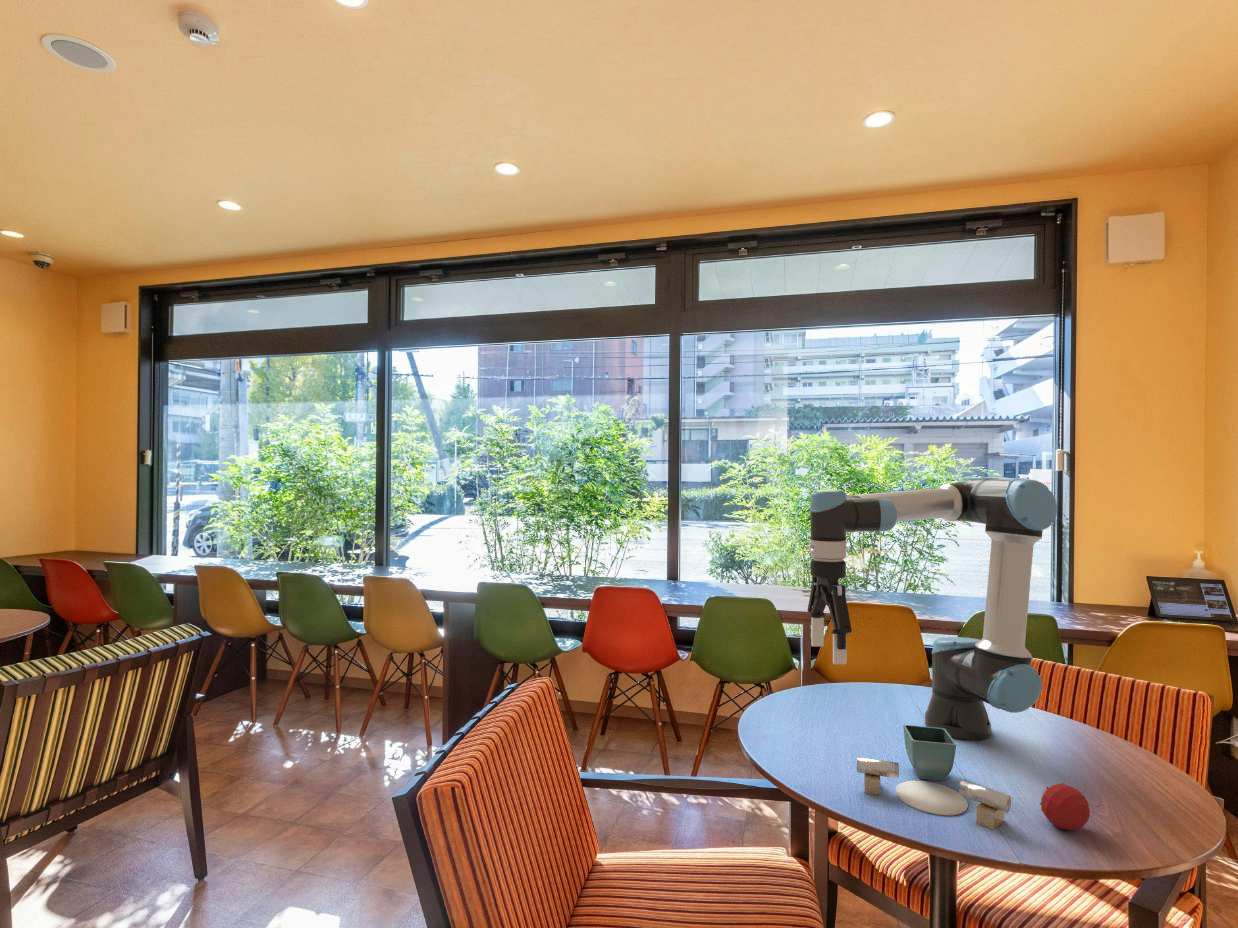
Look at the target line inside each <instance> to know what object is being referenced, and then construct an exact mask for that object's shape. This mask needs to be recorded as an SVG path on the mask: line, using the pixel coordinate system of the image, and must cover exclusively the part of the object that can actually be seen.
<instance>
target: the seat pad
mask: <svg viewBox="0 0 1238 928" xmlns="http://www.w3.org/2000/svg"><path fill="white" fill-rule="evenodd" d="M895 794H896V796H897V798H898V799H899V800H900V801H901V802H902V803H904V804H905V805H907V806H909V807H910V808H913V809H915V810H917V811H920V812H923V813H928V814H930V815H935V816H936V815H937V816H944V817H945V816H948V817H949V816H958V815H961V814H964V813H965V812H966V811H967V810H968V806H969V805H968V802H967V800H966V799H967V798H966V797H964V796H961V795H960V793H959V791H958V792H957V790H954V789H952V788H950V787H948V786H946V785H942V784H939V783H936V782H931V781H925V780H908V781H903V782H900V783H898V785H897V786H896V787H895Z"/></svg>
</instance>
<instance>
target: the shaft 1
mask: <svg viewBox="0 0 1238 928" xmlns="http://www.w3.org/2000/svg"><path fill="white" fill-rule="evenodd" d="M856 773H858V774H859V773H860V774H863V782H864V783H863V786H864V788H863V791H864V794H870V795H875V796H881V777H885V778H892V779H897V780H900V764H899V762H896V761H895V762H894V761H890V760H882V759H875V758H869V757H863V756H856Z"/></svg>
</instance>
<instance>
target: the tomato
mask: <svg viewBox="0 0 1238 928" xmlns="http://www.w3.org/2000/svg"><path fill="white" fill-rule="evenodd" d="M1039 806H1040V809H1041V811H1042V814H1043V815H1044V816H1045V818H1046V819H1047V820H1048V822H1049V823H1050V824H1052V825H1054V826H1056V827H1057V828H1059V829H1061V830H1064V831H1070V830H1071V831H1075V830H1079V829H1081V828H1083V827H1085V825H1086V824H1087V823H1088V821H1089V819H1090V817H1091V814H1090V813H1091V811H1090V810H1091V809H1090V805H1089V802H1088V800H1087V798H1086V797H1085V796H1084V794H1082V793H1081V791H1080V790H1079V789H1077V788H1075V787H1073V786H1071V785H1069V784H1066V783H1056V784H1053V785H1051V786H1049V787H1048V786H1046V790H1044V792H1043V793H1042V796H1041V800H1040V803H1039Z"/></svg>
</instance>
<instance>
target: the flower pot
mask: <svg viewBox="0 0 1238 928" xmlns="http://www.w3.org/2000/svg"><path fill="white" fill-rule="evenodd" d="M902 728H903V735H904V736H903V738H904V745H905V750H906V755H907V757H908V760H909V762H910V764H911V766H912V768H913V771H914V772H915V774H916V776H917V778H918V779H923V780H932V781H943V782H944V781H945V780H946V779H947V778H948V777H949V775H950V774H951V772H952V771H953V767H954V764H955V756H956V748H957V743H956V741H955V740H954V739H953V737H951V736H950V735H949V733H948V732H947V731H946V729H944V728H936V727H927V726H920V725H912V724H903V725H902Z"/></svg>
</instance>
